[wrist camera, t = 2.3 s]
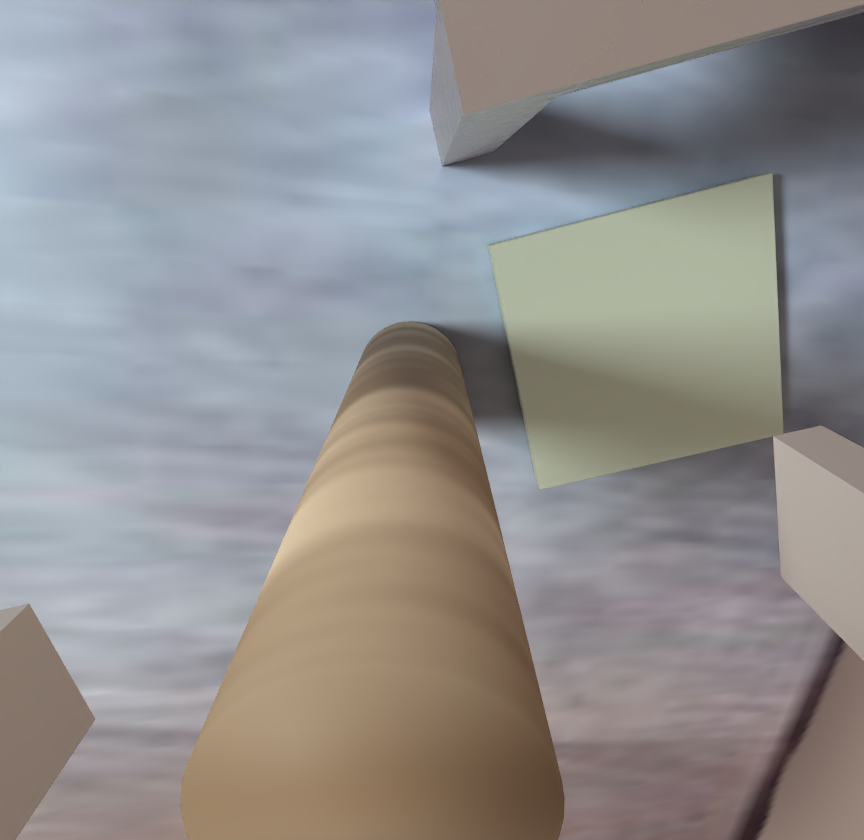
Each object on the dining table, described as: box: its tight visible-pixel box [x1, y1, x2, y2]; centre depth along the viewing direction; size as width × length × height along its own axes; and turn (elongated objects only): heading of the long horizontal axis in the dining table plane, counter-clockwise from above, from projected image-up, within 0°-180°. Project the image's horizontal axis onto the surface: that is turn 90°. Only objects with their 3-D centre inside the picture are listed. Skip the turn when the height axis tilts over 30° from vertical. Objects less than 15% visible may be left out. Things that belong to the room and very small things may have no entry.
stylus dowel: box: [181, 322, 564, 840], centre depth 15 cm, size 4×4×18 cm
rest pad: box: [487, 173, 784, 490], centre depth 22 cm, size 10×10×1 cm
